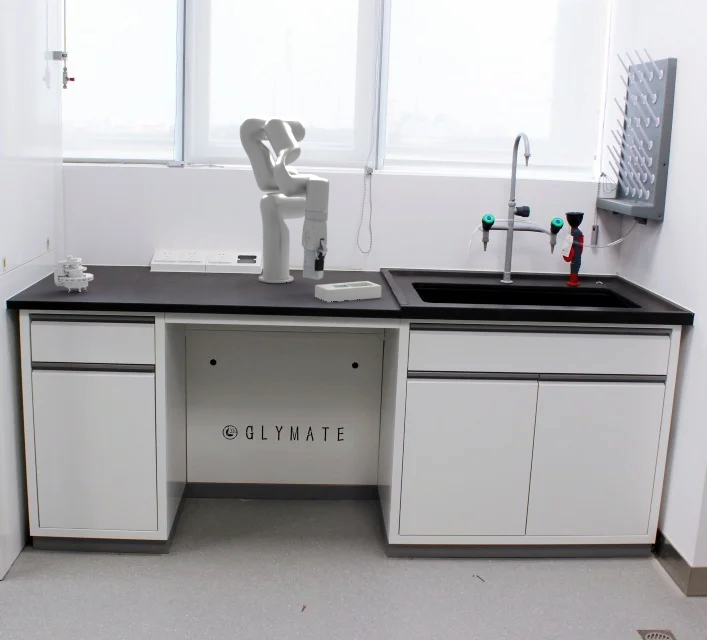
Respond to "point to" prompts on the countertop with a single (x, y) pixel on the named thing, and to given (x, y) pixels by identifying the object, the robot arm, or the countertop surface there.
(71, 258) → the mechanical part
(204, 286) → the countertop surface
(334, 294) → the holder
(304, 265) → the skincare box
